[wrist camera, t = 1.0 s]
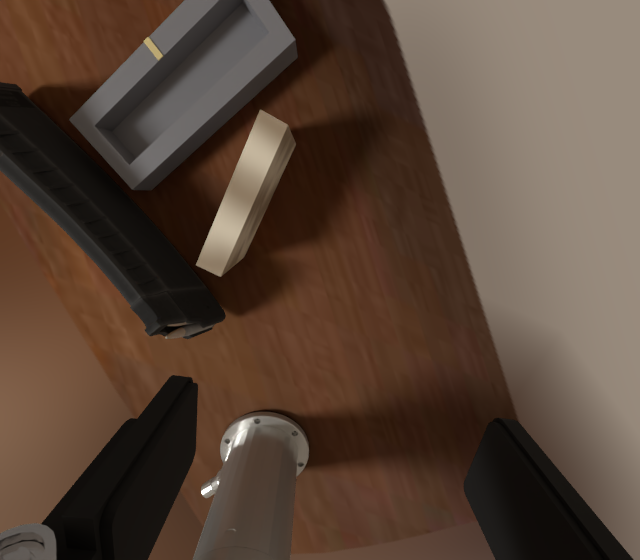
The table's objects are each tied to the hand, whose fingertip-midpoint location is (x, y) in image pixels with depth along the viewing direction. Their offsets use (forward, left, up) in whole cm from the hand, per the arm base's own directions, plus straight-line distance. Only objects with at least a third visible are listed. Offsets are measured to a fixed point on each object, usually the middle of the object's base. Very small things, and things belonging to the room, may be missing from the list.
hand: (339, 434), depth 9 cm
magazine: (-14, +17, -27) cm, 35 cm away
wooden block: (-2, +10, -27) cm, 29 cm away
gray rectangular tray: (0, +22, -27) cm, 35 cm away
